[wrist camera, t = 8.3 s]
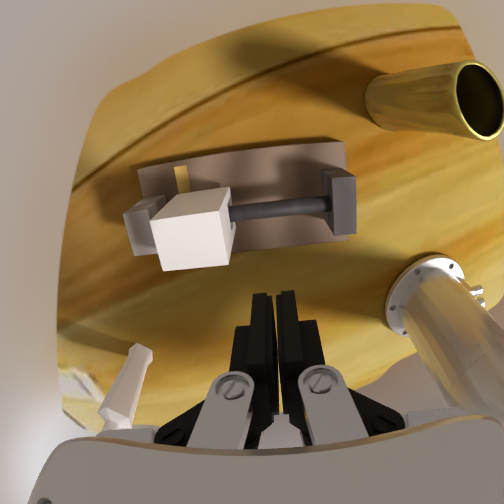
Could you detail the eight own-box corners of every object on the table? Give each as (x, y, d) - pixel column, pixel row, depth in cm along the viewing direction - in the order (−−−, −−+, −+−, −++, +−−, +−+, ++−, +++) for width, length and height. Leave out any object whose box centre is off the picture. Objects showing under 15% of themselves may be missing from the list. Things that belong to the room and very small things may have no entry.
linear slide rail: (340, 140, 26) (362, 146, 20) (344, 234, 30) (363, 262, 24) (142, 167, 27) (114, 180, 22) (163, 254, 32) (143, 285, 26)
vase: (370, 65, 22) (453, 34, 9) (420, 88, 23) (515, 84, 10) (358, 118, 25) (438, 122, 12) (408, 139, 25) (501, 163, 12)
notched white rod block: (229, 186, 26) (218, 210, 19) (236, 227, 27) (228, 264, 21) (176, 194, 26) (149, 220, 19) (185, 234, 28) (163, 271, 21)
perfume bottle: (162, 360, 39) (135, 446, 25) (140, 365, 40) (110, 445, 26) (144, 338, 37) (108, 425, 24) (122, 344, 38) (84, 425, 24)
